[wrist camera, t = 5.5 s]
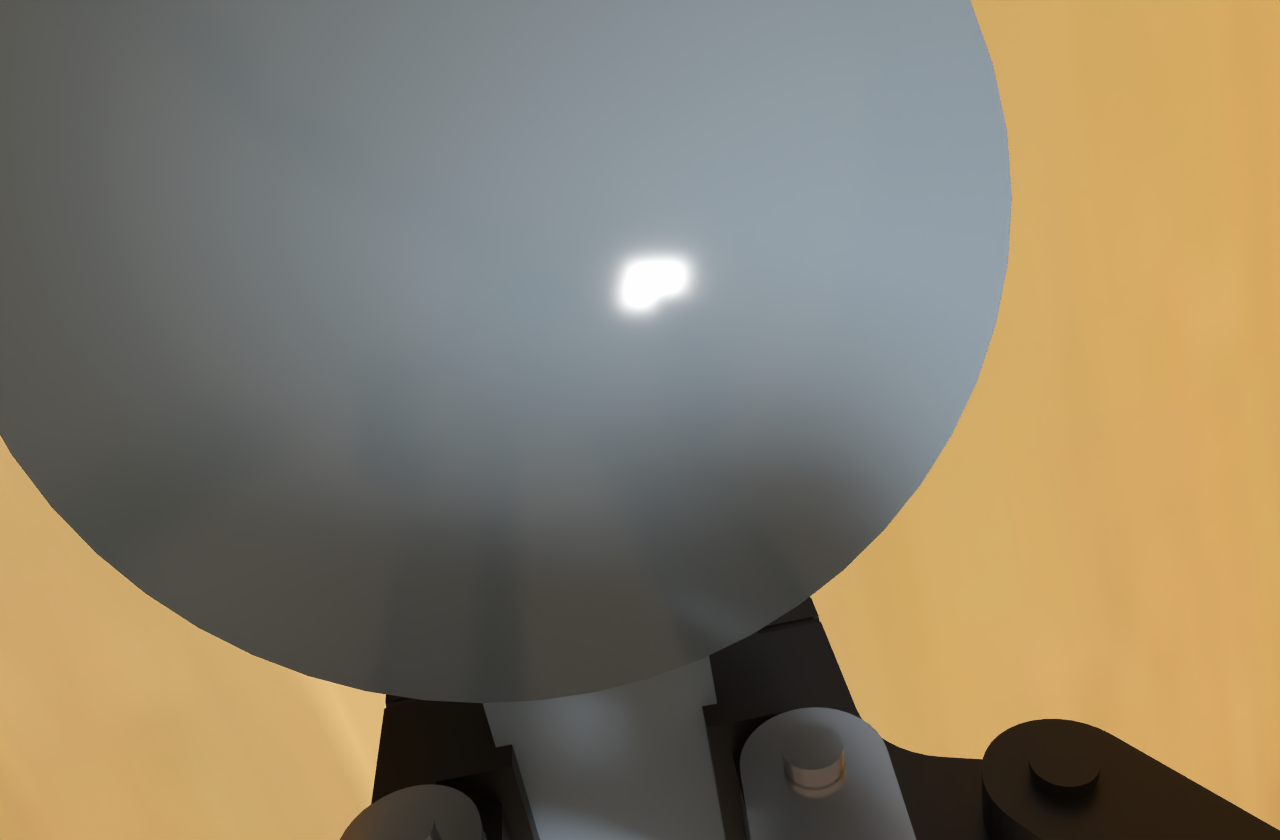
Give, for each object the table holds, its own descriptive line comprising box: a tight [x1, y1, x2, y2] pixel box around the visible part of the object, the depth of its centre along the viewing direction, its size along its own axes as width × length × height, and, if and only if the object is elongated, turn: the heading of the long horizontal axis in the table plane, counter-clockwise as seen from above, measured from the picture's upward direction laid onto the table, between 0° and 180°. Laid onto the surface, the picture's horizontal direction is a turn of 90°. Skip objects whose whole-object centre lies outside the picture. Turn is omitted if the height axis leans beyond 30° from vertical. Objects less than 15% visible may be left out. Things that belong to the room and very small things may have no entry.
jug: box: [0, 0, 1012, 840], centre depth 12 cm, size 13×7×9 cm, turn 9°
